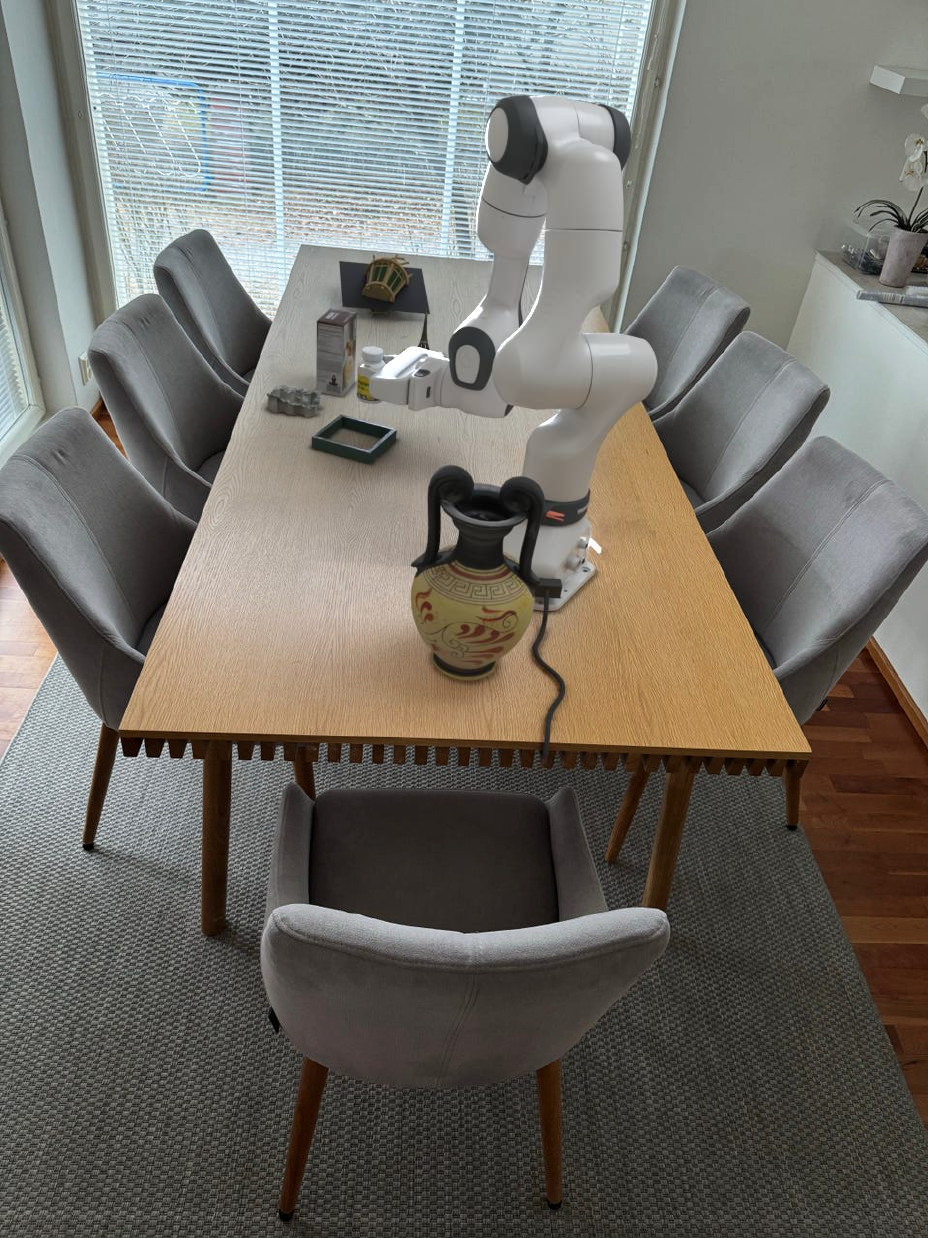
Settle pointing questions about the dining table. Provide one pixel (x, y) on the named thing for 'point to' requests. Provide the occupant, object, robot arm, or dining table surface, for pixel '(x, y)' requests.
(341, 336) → the coffee box
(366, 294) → the lantern
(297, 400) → the egg carton
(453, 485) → the amphora
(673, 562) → the dining table surface
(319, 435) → the square frame
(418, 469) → the dining table surface
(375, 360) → the supplement bottle
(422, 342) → the eiffel tower figurine
